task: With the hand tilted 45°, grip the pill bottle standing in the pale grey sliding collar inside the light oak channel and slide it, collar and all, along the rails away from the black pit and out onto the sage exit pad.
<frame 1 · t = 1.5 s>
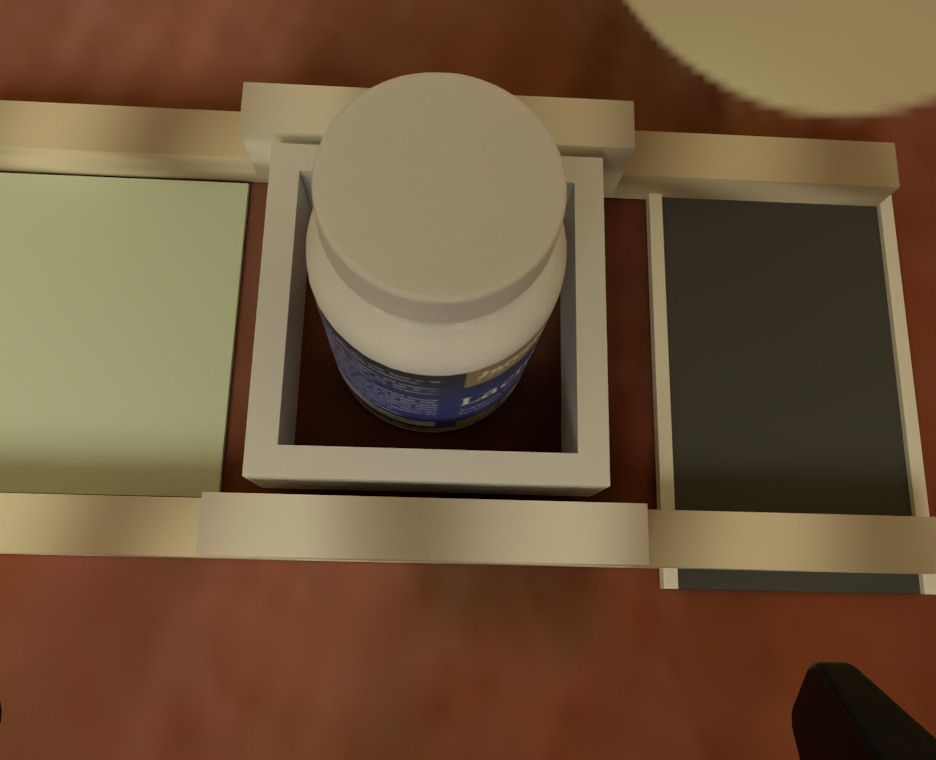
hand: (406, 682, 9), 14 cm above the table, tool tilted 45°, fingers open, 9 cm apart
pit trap: (780, 351, 24), on the table
exit pad: (92, 328, 24), on the table
collar carriage: (433, 322, 22), point 2 cm above the table, slide at 0.0 cm
oak channel: (432, 341, 24), on the table
pill bottle: (432, 343, 24), resting in collar carriage
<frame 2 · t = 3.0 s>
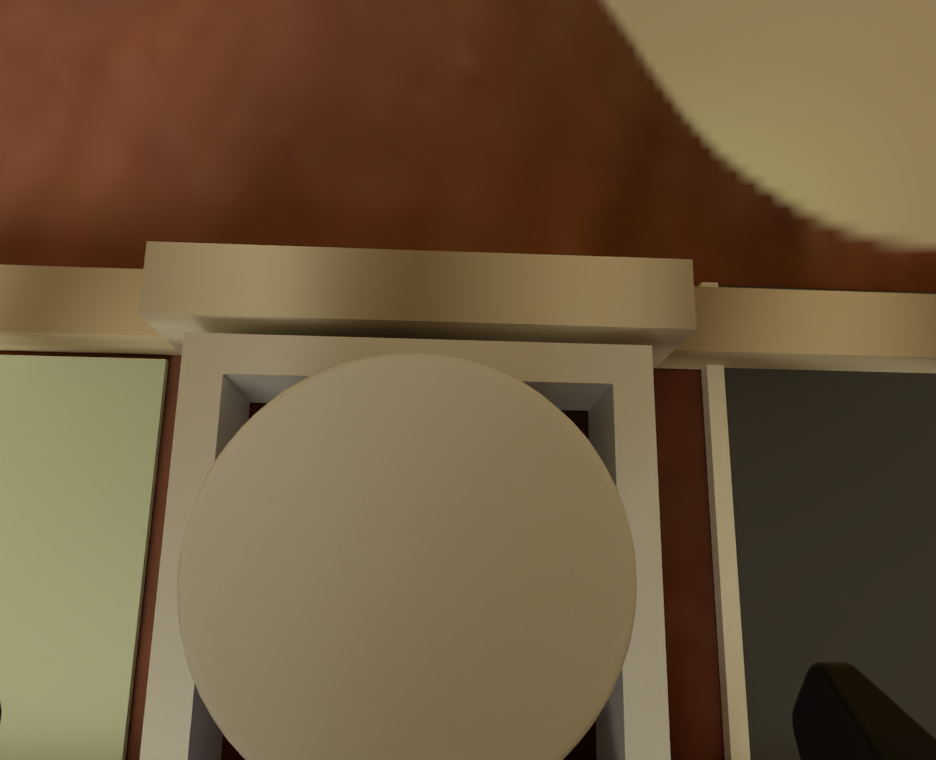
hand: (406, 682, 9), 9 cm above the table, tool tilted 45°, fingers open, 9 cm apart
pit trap: (890, 587, 18), on the table
collar carriage: (415, 580, 16), point 2 cm above the table, slide at 0.0 cm
oak channel: (416, 580, 18), on the table
pill bottle: (416, 580, 18), resting in collar carriage
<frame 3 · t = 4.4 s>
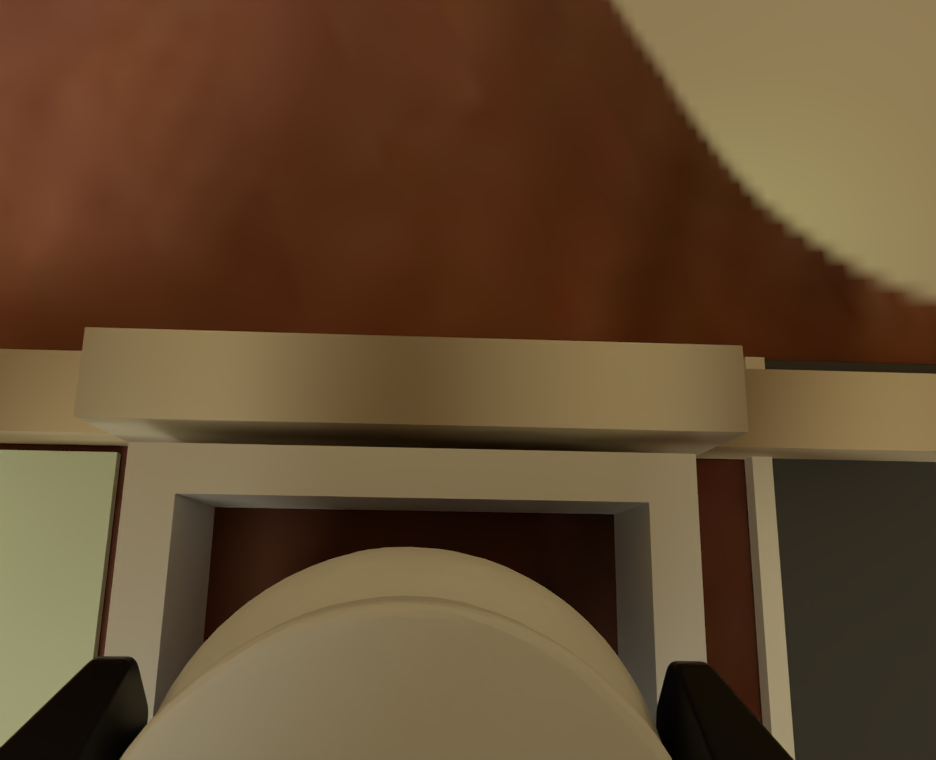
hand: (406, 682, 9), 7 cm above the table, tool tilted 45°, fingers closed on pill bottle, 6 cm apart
collar carriage: (409, 737, 13), point 2 cm above the table, slide at 0.0 cm
oak channel: (411, 718, 15), on the table
pill bottle: (411, 716, 15), resting in collar carriage, touching gripper
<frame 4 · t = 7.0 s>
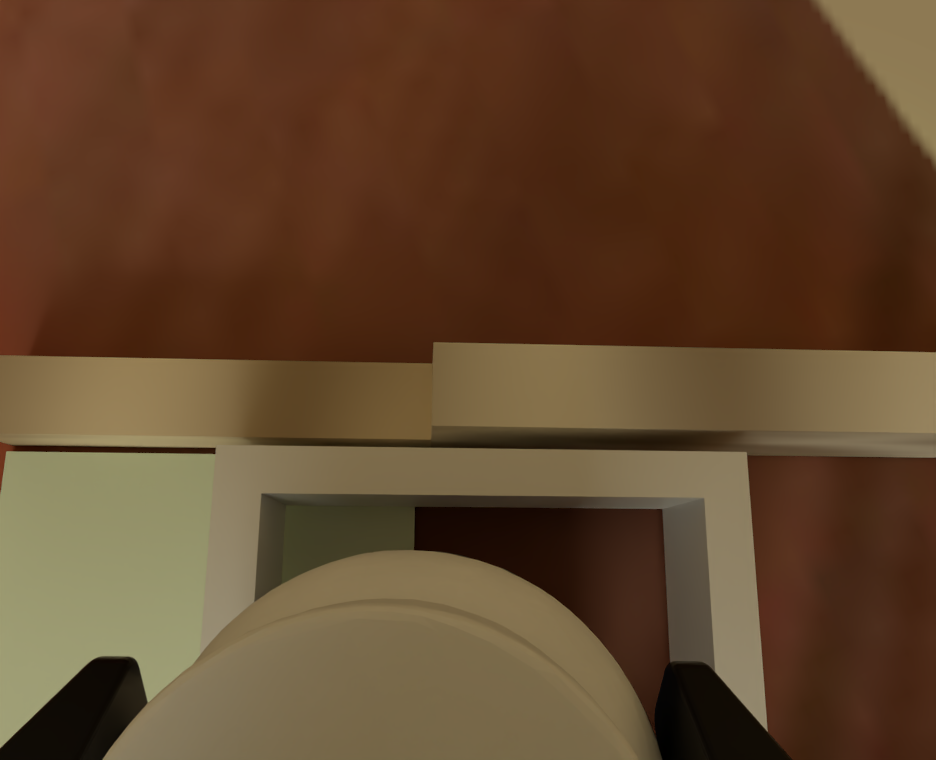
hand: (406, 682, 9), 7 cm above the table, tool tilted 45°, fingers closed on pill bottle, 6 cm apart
exit pad: (195, 705, 15), on the table
collar carriage: (480, 720, 14), point 2 cm above the table, slide at 4.6 cm, touching pill bottle
oak channel: (704, 702, 16), on the table
pill bottle: (436, 716, 15), resting in collar carriage, touching gripper
when the fingers open (7 cm above the table, at t = 9.0 s): pill bottle stays where it is, resting on exit pad.
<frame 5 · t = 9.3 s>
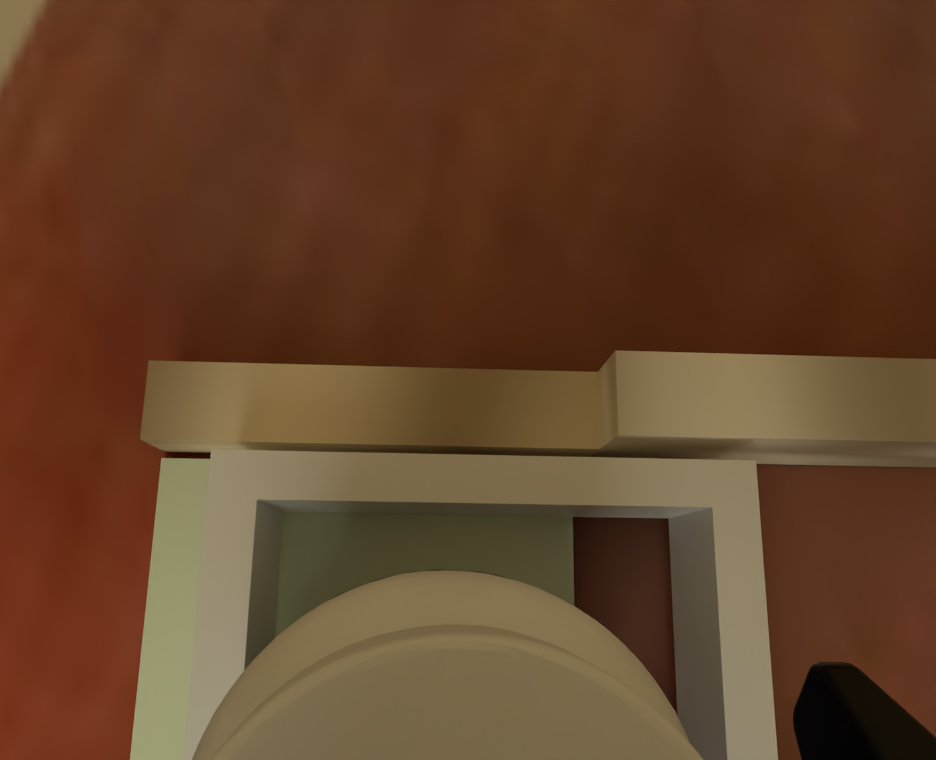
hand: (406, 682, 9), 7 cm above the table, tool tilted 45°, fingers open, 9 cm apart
exit pad: (358, 717, 15), on the table
collar carriage: (480, 734, 14), point 2 cm above the table, slide at 7.7 cm
oak channel: (869, 718, 16), on the table
pill bottle: (434, 730, 15), resting on exit pad
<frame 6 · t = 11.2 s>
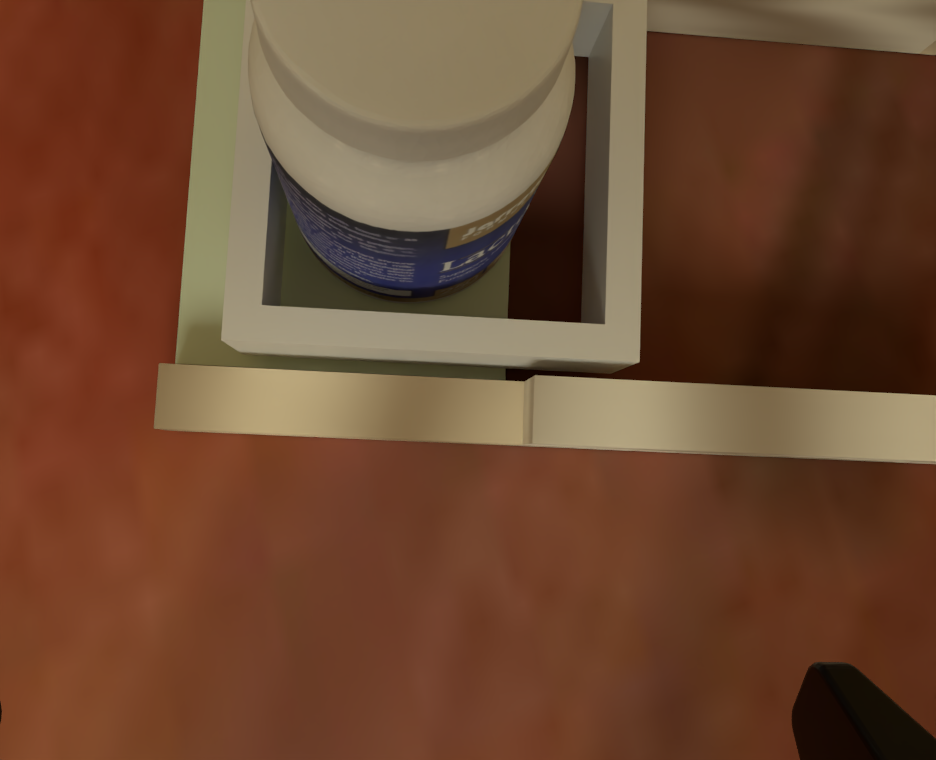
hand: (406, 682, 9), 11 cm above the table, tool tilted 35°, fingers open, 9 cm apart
exit pad: (353, 187, 21), on the table
collar carriage: (441, 168, 19), point 2 cm above the table, slide at 7.7 cm
oak channel: (725, 213, 22), on the table
pill bottle: (408, 200, 21), resting on exit pad
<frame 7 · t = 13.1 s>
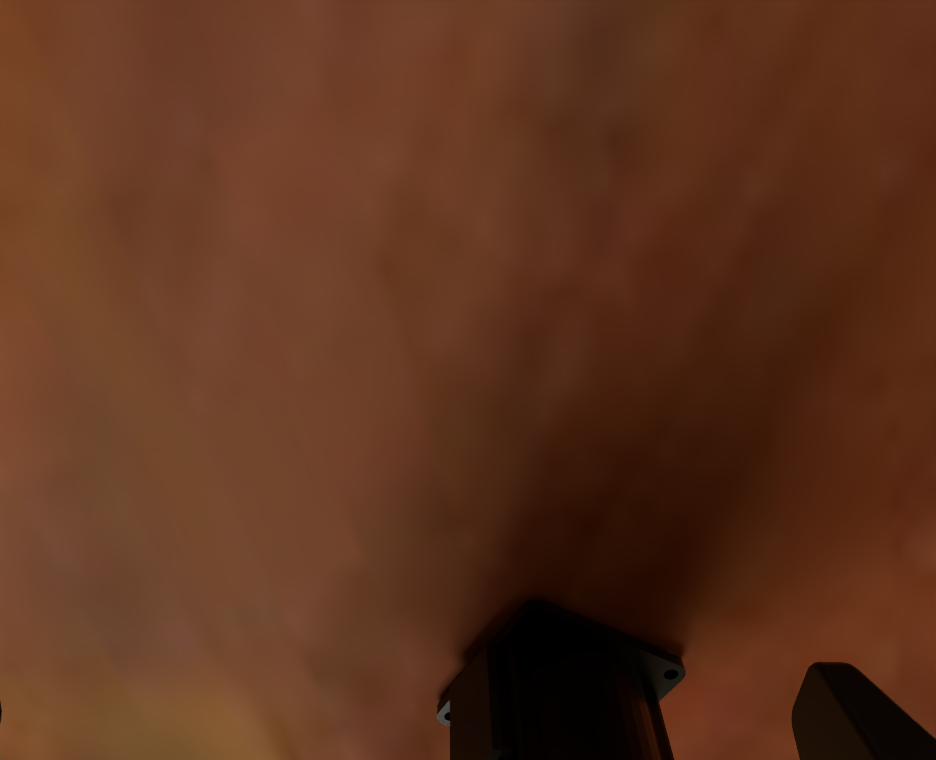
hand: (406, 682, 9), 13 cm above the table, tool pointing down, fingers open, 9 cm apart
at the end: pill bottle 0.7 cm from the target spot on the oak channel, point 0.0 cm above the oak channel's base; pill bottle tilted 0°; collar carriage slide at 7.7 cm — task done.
